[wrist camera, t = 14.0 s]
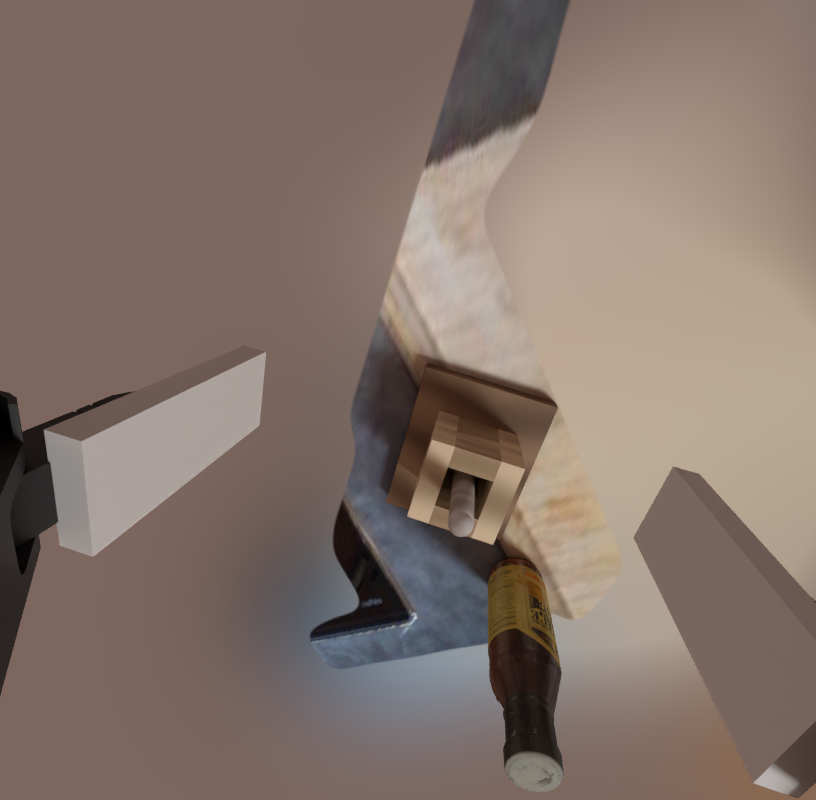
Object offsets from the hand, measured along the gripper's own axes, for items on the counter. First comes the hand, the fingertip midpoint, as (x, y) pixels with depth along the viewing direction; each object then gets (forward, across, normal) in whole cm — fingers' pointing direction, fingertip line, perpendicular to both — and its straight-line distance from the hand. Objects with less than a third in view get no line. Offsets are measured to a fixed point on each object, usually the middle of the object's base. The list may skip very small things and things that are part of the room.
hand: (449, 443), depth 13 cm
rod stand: (+27, +3, -14) cm, 31 cm away
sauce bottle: (+27, +13, -28) cm, 41 cm away
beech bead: (+26, +3, -14) cm, 29 cm away
